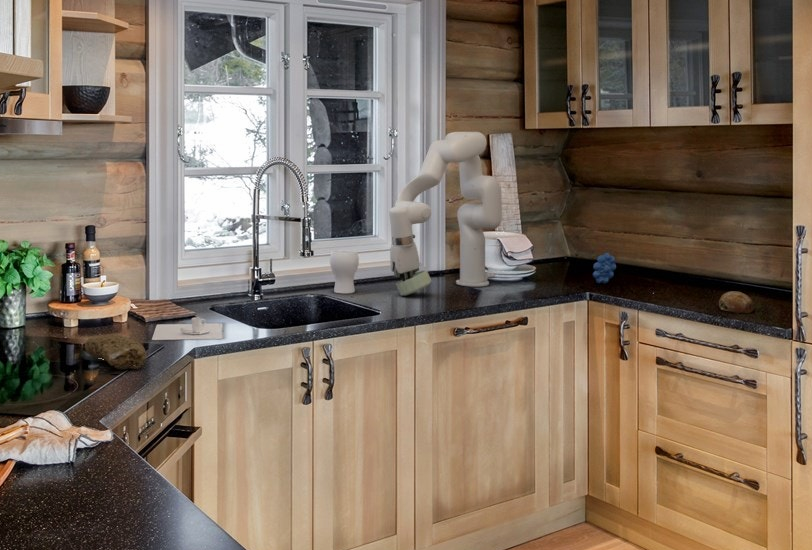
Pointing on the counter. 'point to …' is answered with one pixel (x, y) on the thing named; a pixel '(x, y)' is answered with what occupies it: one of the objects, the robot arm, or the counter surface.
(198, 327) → the teacup and saucer
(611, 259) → the grapes
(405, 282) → the bowl
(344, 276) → the cup
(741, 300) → the bread roll
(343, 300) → the counter surface
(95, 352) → the sponge
